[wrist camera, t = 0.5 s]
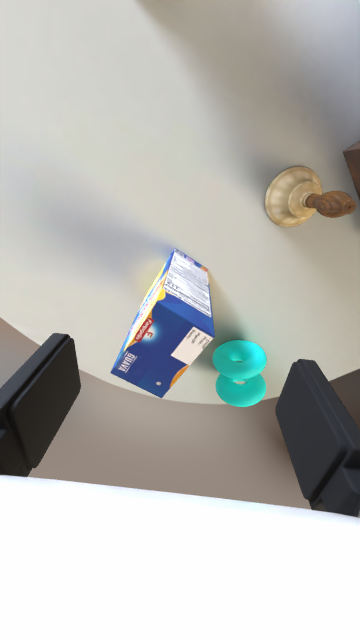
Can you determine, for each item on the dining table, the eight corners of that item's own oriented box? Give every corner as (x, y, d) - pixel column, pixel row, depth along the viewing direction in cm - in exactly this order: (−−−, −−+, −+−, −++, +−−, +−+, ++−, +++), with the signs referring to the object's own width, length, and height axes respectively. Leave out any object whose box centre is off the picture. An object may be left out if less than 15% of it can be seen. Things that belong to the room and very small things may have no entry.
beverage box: (207, 268, 44) (215, 335, 25) (175, 313, 49) (161, 398, 30) (175, 247, 43) (157, 301, 24) (145, 295, 48) (109, 373, 28)
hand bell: (302, 152, 35) (370, 133, 21) (331, 199, 38) (409, 209, 24) (253, 197, 38) (285, 206, 24) (283, 237, 41) (327, 267, 27)
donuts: (214, 376, 56) (217, 411, 48) (210, 339, 52) (213, 371, 43) (260, 372, 55) (271, 408, 46) (260, 335, 50) (273, 367, 42)
